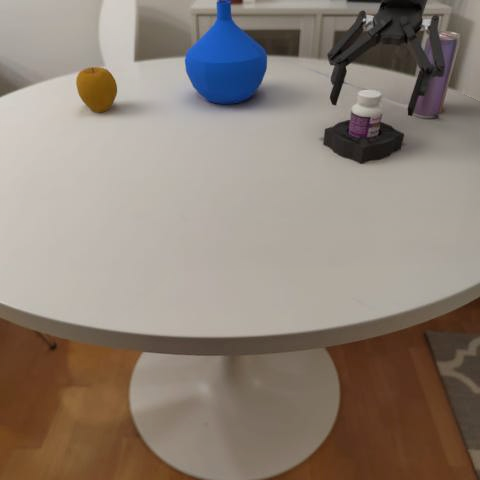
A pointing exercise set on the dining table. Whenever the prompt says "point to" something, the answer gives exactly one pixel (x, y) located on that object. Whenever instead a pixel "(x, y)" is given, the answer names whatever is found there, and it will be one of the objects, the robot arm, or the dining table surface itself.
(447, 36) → the beverage can
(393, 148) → the dock pad
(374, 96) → the pill bottle
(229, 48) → the vase
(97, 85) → the apple
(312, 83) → the dining table surface
